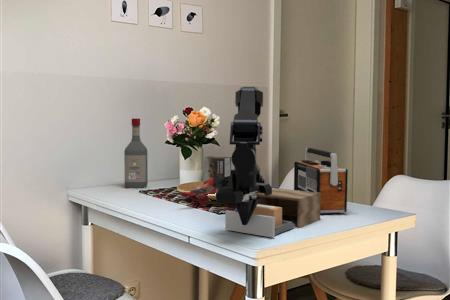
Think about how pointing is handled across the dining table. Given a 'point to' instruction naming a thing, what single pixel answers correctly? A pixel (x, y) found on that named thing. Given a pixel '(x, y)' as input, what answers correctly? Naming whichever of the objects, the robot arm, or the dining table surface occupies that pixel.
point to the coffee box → (216, 167)
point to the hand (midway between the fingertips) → (244, 224)
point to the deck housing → (294, 204)
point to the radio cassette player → (323, 180)
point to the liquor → (135, 160)
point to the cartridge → (270, 212)
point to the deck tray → (256, 224)
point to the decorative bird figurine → (201, 192)
